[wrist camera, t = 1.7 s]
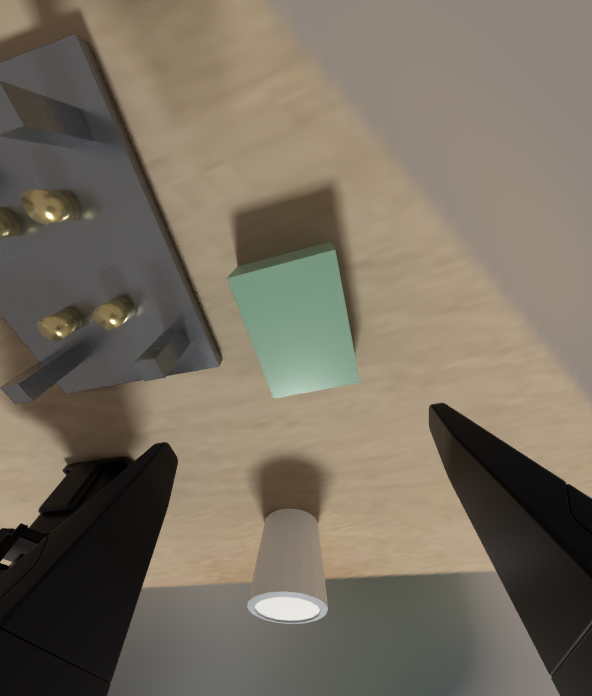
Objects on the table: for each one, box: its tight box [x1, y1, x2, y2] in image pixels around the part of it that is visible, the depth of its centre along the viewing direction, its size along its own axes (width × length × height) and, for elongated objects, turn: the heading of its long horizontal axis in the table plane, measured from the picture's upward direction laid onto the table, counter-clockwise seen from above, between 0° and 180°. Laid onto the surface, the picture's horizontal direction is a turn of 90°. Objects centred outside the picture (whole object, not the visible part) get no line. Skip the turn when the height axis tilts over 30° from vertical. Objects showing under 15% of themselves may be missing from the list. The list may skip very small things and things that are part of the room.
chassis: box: [0, 34, 222, 404], centre depth 14 cm, size 16×12×4 cm
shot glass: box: [247, 508, 328, 624], centre depth 26 cm, size 7×7×7 cm
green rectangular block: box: [227, 241, 360, 399], centre depth 17 cm, size 8×6×3 cm
